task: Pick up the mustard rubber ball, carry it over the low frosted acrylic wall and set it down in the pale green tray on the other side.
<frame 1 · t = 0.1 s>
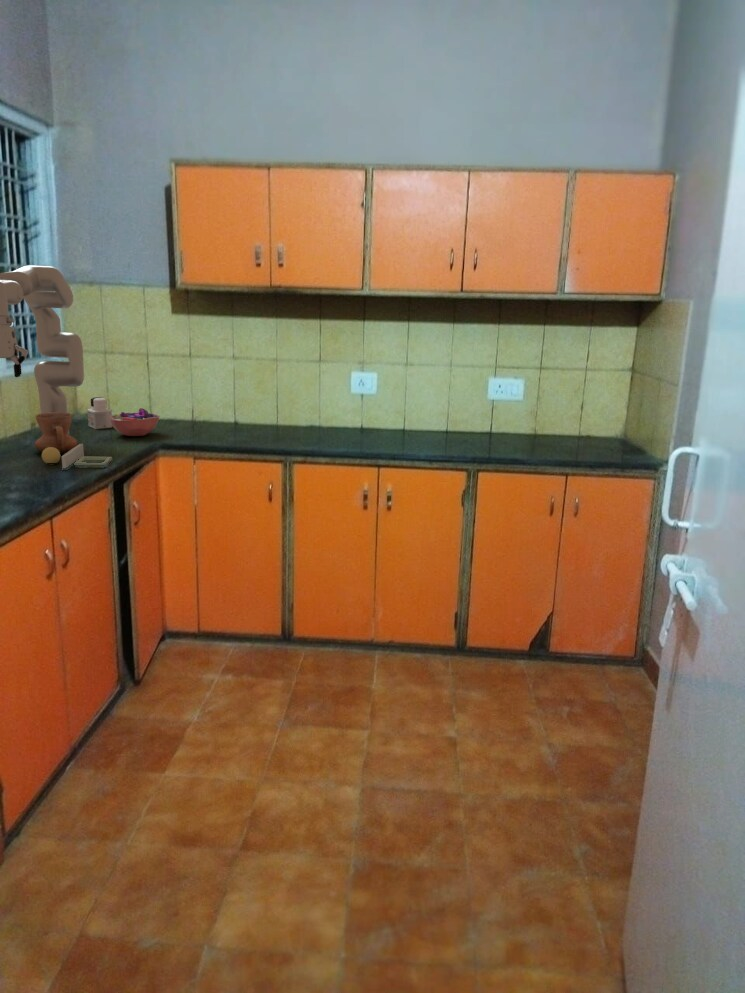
hand: (1, 376, 219), 31 cm above the worktop, tool pointing down, fingers open, 9 cm apart
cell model: (136, 436, 289), on the worktop
ball: (51, 455, 237), point 3 cm above the worktop
tray: (93, 464, 239), on the worktop
ceramic jug: (57, 453, 255), on the worktop
wall: (73, 463, 240), on the worktop
container: (100, 427, 303), on the worktop
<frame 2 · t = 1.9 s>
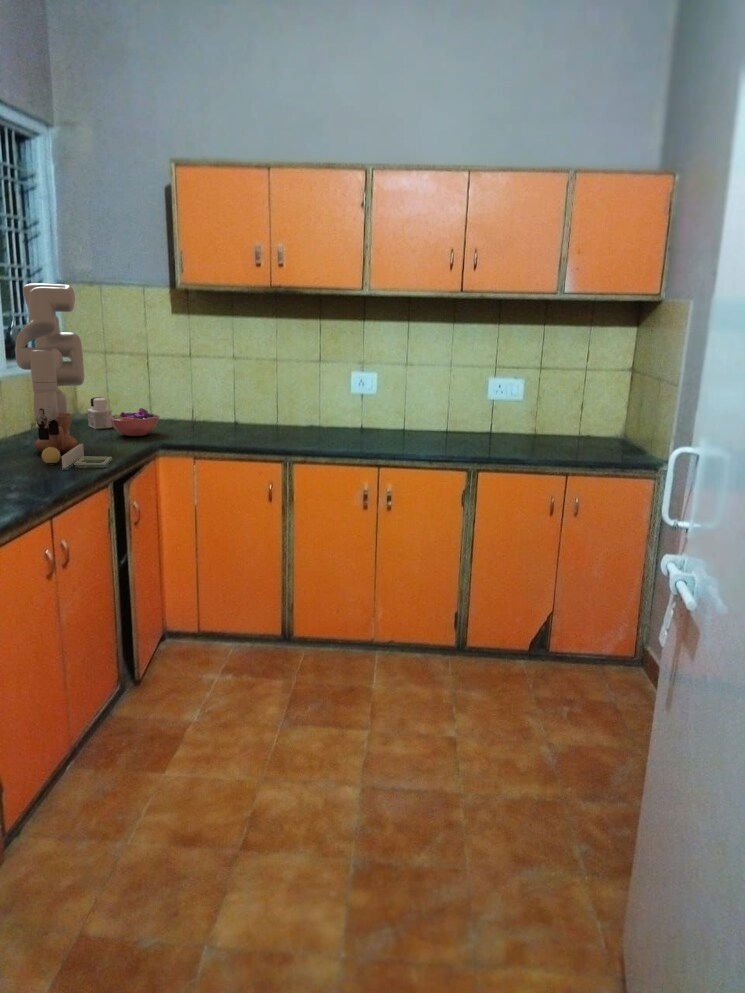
hand: (49, 437, 235), 10 cm above the worktop, tool pointing down, fingers open, 9 cm apart
nothing on the worktop moved.
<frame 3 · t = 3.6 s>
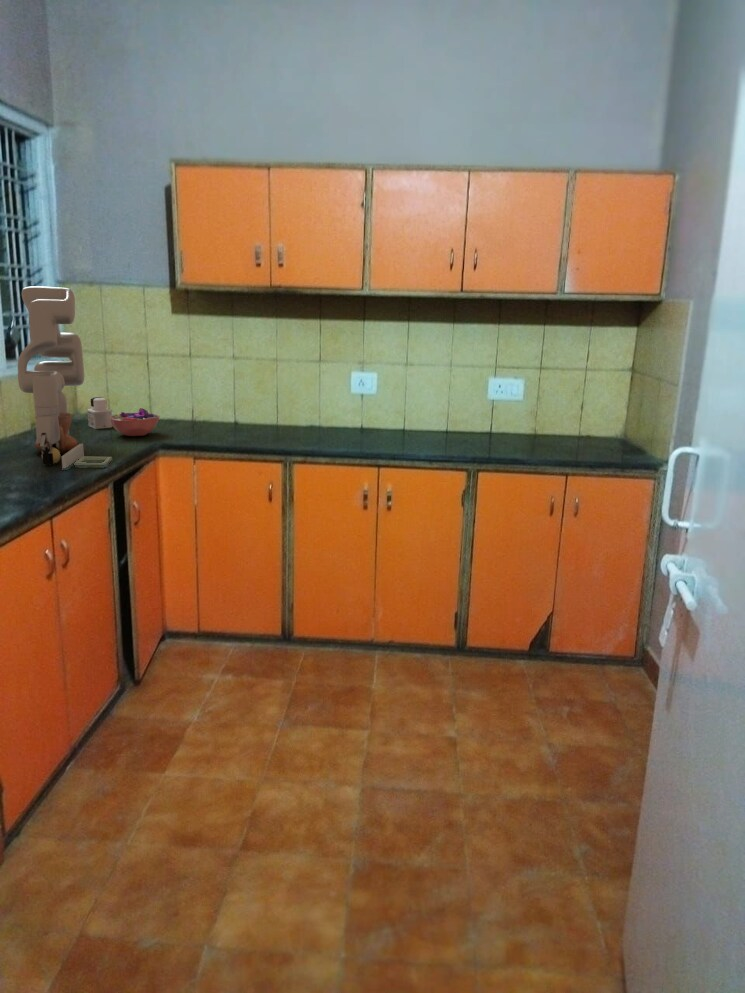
hand: (51, 461, 238), 1 cm above the worktop, tool pointing down, fingers closed on ball, 5 cm apart
ball: (51, 455, 237), point 3 cm above the worktop, touching gripper
everything else where it was.
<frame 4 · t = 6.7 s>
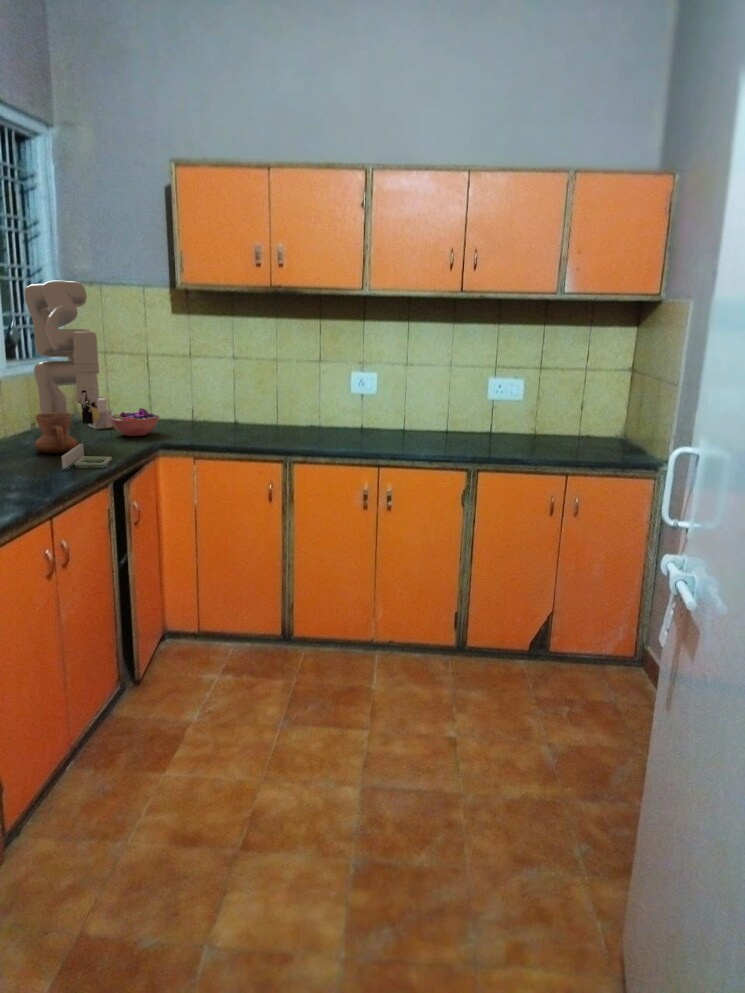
hand: (90, 421, 235), 15 cm above the worktop, tool pointing down, fingers closed on ball, 5 cm apart
ball: (90, 414, 234), point 18 cm above the worktop, touching gripper
everything else where it was.
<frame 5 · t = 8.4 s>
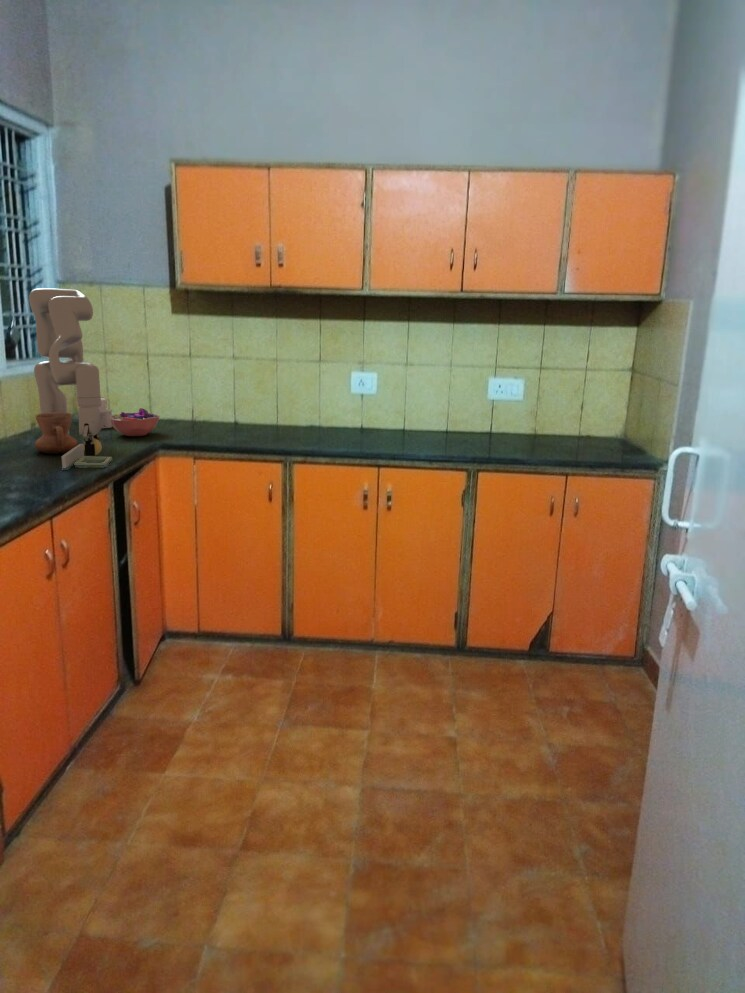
hand: (93, 452, 238), 4 cm above the worktop, tool pointing down, fingers closed on ball, 5 cm apart
ball: (92, 446, 238), point 7 cm above the worktop, touching gripper
everything else where it was.
when the fingers open (3 cm above the worktop, at t = 9.6 s): ball drops 2 cm, resting on tray.
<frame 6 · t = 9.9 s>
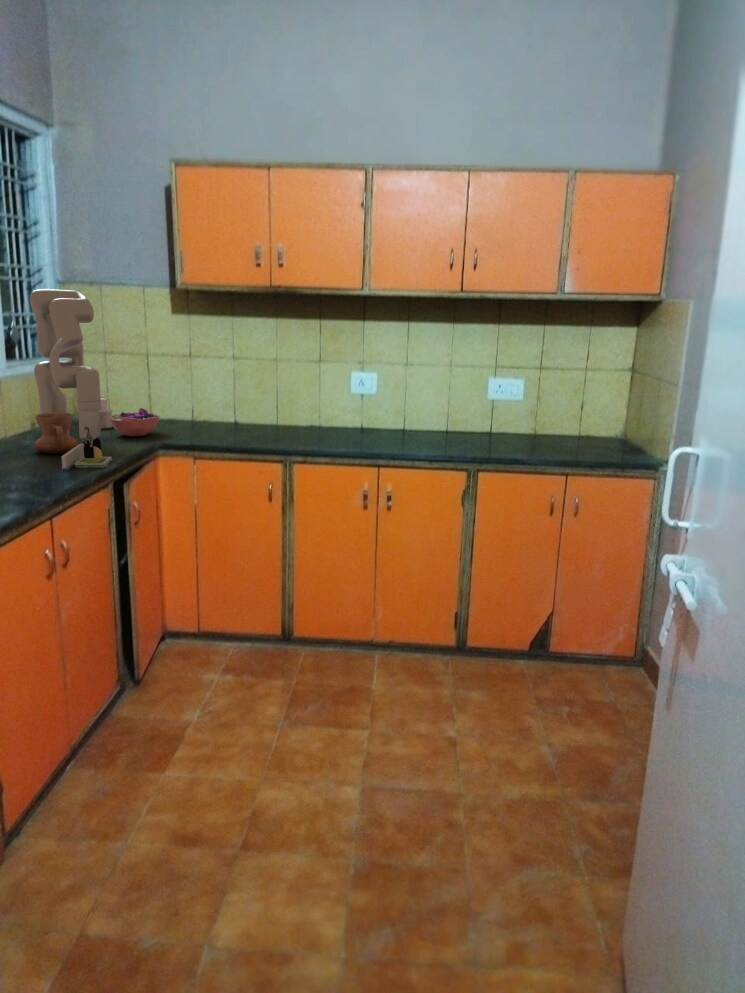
hand: (93, 454, 238), 4 cm above the worktop, tool pointing down, fingers open, 8 cm apart
ball: (93, 454, 238), point 4 cm above the worktop, touching tray
everything else where it was.
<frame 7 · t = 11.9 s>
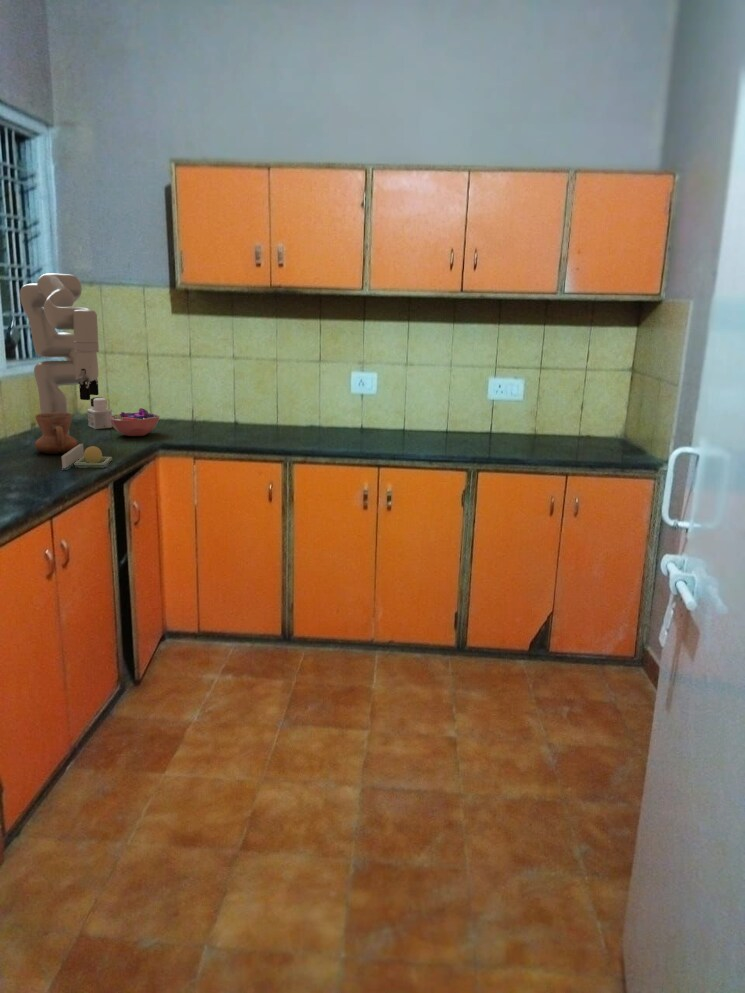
hand: (89, 397, 237), 23 cm above the worktop, tool pointing down, fingers open, 9 cm apart
nothing on the worktop moved.
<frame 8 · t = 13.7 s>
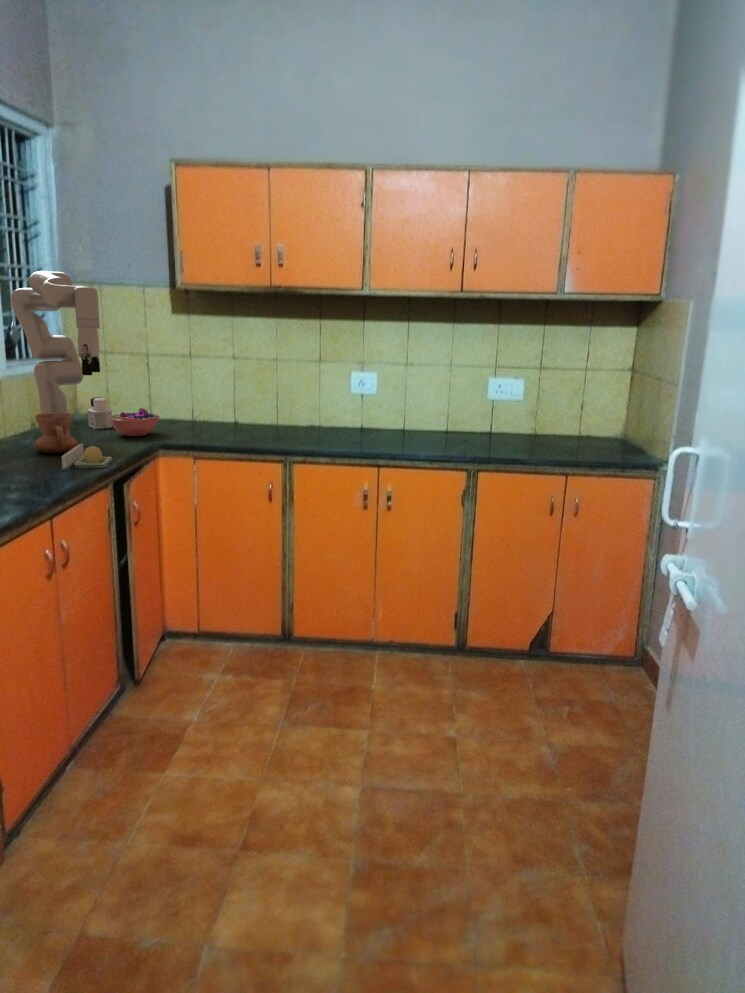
hand: (91, 373, 242), 30 cm above the worktop, tool pointing down, fingers open, 9 cm apart
nothing on the worktop moved.
at the end: ball 0.1 cm from the tray (horizontally); ball point 3.6 cm above the worktop; the gripper is holding nothing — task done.
